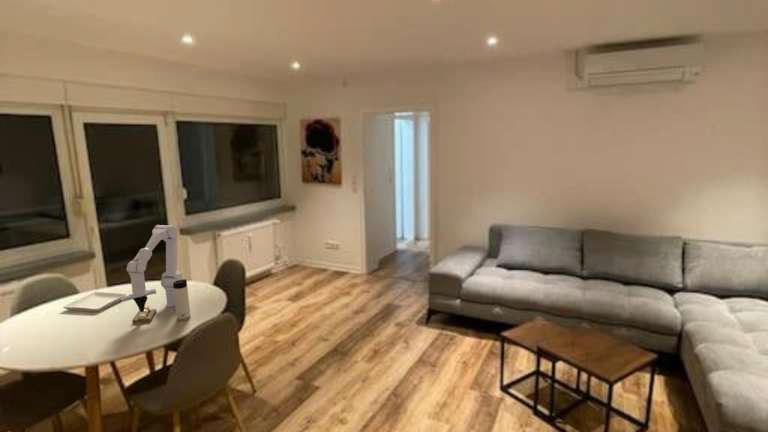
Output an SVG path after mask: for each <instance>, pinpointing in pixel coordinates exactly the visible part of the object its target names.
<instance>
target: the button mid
mask: <svg viewBox="0 0 768 432" xmlns="http://www.w3.org/2000/svg"><path fill="white" fill-rule="evenodd" d="M141 314H146V318H147V316H148V311H147V309H144V311H143V312H141Z"/></svg>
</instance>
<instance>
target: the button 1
mask: <svg viewBox="0 0 768 432" xmlns="http://www.w3.org/2000/svg"><path fill="white" fill-rule="evenodd" d="M146 318H147V317H146V314H140V315H139V319H146Z"/></svg>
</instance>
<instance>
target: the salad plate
mask: <svg viewBox="0 0 768 432" xmlns="http://www.w3.org/2000/svg"><path fill="white" fill-rule="evenodd" d="M125 296H127V294H126V293H117V292H102V291H101V292H100V291H94V292H91V293H90V294H87V295H84V296H83V297H81V298H78V299H76V300H74V301H72V302H70V303H68V304H66V305H64V306H63V307H62V308H64V309H65V310H70V311H80V312H81V311H82V312H83V311H84V312H99V311H101V310H104V309H105V308H107V307H109V306H112V305H114V304H116V303H117V302H119V301H121V300H123V298H122V297H125Z"/></svg>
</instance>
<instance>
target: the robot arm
mask: <svg viewBox="0 0 768 432" xmlns="http://www.w3.org/2000/svg"><path fill="white" fill-rule="evenodd" d="M151 233H152V235H151V237H150V239H149V240H148V242H147V243H146V245H145V247H143V248H141V249H139V251H138V253H137V254H136V256H134V258H133V259H132V260H131V261H129V262H128V263H127V265H126V268H125V269H126V272H127V273H128V275H129V277H130V283H131V284H130V285H131V290H132V291H131V292H132V293H131V294H128V295H126V296H125V297H122V298H123V299H122V302H124V303H126V302H128V301H131V300H133V301H134V302H135V304H136V306H137V308H138V311H140V312H143V311H144V307H146V302H147V300H148V296H151V295H157V290H156V289H155V288H154V289H153V288H152V289H146V281H145V279H146V278H145V273H144V272H145V271H146V269H147V265H148V262H149V260H150V259H151V258H152V255H153V250H154V249H155V248H156V247H157V245H158V244H159V243H160V241H162V240H163V241H164V243H165V249H166V250H165V271H164V272H163V273H162V275H161V280H160V285H161V287H162V288H163V289H164V290H165V299H166V303H165V305H164V306H165V308H170V307H175V298H174V289H173V282H176V281H178V280H183V274H182V273H181V272H180V271H178V228H177V227H176V226H175V225H172V224H171V225H168V224H167V225H164V224H161V225H160V224H156V225H155V226H154V228H153V229H152V232H151Z"/></svg>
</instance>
